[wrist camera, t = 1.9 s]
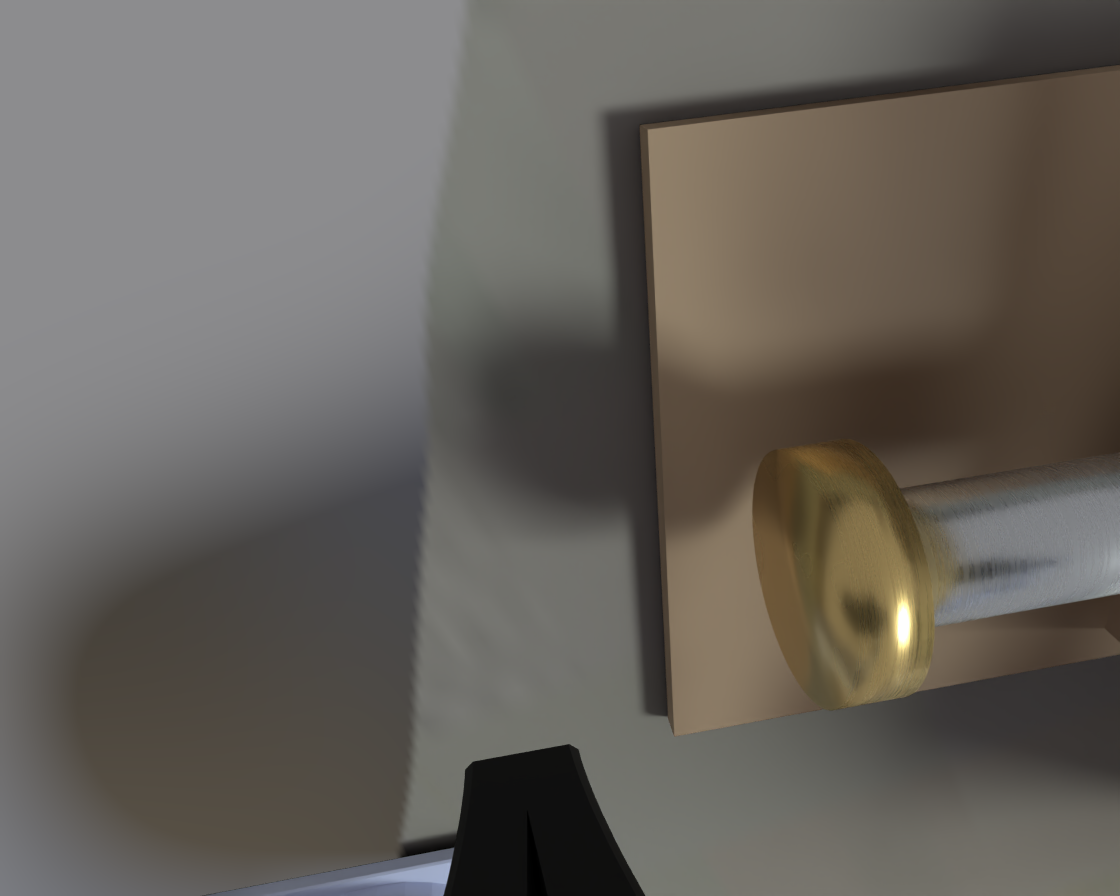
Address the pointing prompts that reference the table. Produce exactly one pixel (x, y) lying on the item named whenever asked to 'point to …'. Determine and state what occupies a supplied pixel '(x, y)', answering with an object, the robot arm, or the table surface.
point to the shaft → (917, 558)
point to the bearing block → (875, 340)
